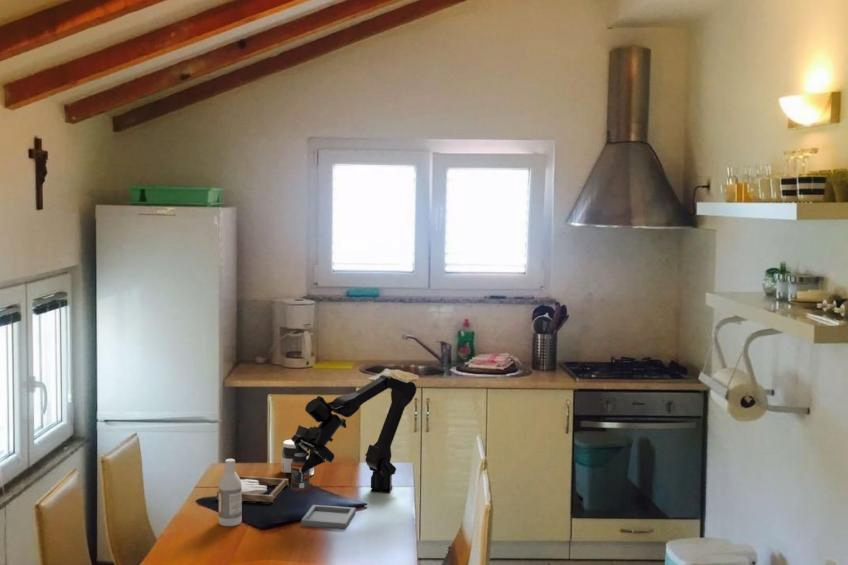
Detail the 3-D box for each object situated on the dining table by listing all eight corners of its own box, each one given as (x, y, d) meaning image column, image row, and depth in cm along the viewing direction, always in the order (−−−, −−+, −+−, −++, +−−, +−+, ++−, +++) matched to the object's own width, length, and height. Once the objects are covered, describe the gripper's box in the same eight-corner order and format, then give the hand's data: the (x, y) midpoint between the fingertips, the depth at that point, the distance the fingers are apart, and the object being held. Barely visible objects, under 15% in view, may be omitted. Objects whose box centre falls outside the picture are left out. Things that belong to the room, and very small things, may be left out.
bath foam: (217, 519, 288) (217, 457, 286) (240, 518, 290) (240, 455, 288) (219, 528, 281) (219, 464, 279) (242, 525, 283) (242, 462, 281)
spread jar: (280, 469, 339) (280, 438, 337) (310, 467, 342) (310, 436, 341) (285, 480, 327) (285, 448, 326) (316, 477, 331) (317, 446, 329)
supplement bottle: (306, 492, 295) (306, 457, 294) (288, 491, 296) (288, 456, 295) (311, 486, 301) (311, 452, 300) (293, 484, 302) (293, 451, 301)
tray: (355, 513, 296) (355, 507, 296) (345, 529, 282) (345, 523, 282) (313, 510, 298) (313, 504, 298) (301, 525, 284) (301, 520, 284)
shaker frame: (288, 486, 321) (288, 479, 321) (272, 503, 303) (272, 496, 303) (235, 482, 323) (235, 475, 323) (217, 499, 306) (217, 492, 305)
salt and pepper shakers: (236, 501, 305) (269, 498, 309) (237, 489, 304) (270, 486, 309) (229, 490, 316) (261, 487, 320) (229, 478, 315) (261, 475, 320)
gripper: (296, 410, 306) (266, 448, 300) (326, 422, 291) (296, 462, 286) (316, 429, 311) (287, 467, 306) (347, 442, 297) (317, 482, 291)
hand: (296, 469), depth 297 cm, fingers closed on supplement bottle, 6 cm apart
